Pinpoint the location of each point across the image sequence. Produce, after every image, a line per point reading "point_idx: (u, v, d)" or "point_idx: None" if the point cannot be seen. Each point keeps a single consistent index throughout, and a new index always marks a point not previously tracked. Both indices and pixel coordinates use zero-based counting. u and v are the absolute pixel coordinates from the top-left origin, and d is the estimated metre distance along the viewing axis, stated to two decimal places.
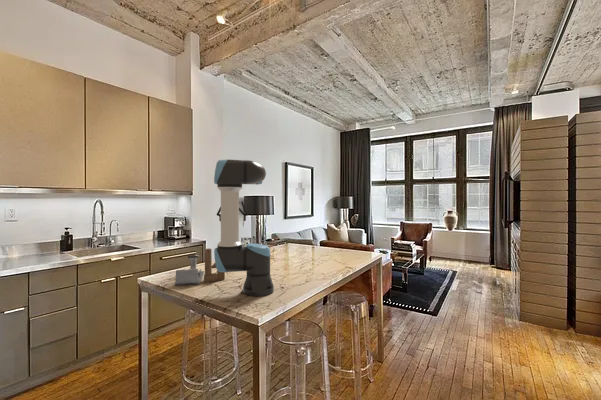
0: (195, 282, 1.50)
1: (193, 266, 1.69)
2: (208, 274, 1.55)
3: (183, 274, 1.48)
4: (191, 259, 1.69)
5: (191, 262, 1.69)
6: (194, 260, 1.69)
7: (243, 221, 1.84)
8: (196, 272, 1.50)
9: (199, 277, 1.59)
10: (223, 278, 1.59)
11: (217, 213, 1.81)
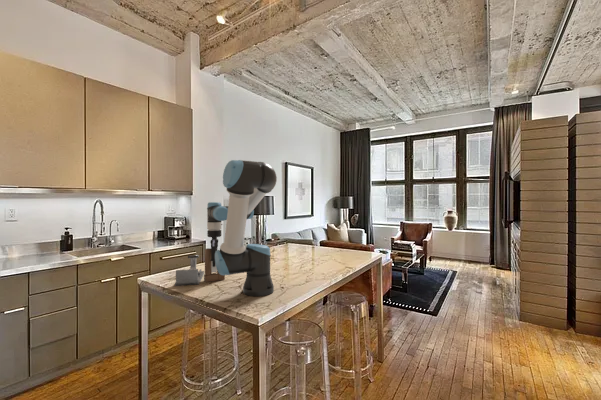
0: (195, 282, 1.50)
1: (193, 266, 1.69)
2: (208, 274, 1.55)
3: (183, 274, 1.48)
4: (191, 259, 1.69)
5: (191, 262, 1.69)
6: (194, 260, 1.69)
7: None
8: (196, 272, 1.50)
9: (199, 277, 1.59)
10: (223, 278, 1.59)
11: None
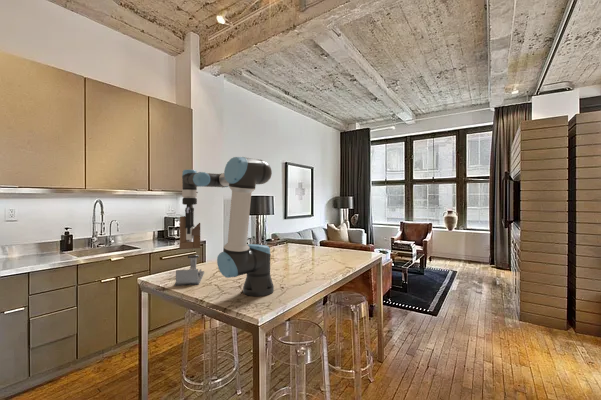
0: (195, 282, 1.50)
1: (193, 266, 1.69)
2: (183, 241, 1.54)
3: (183, 274, 1.48)
4: (191, 259, 1.69)
5: (191, 262, 1.69)
6: (194, 260, 1.69)
7: (186, 234, 1.55)
8: (196, 272, 1.50)
9: (199, 277, 1.59)
10: (199, 246, 1.58)
11: None
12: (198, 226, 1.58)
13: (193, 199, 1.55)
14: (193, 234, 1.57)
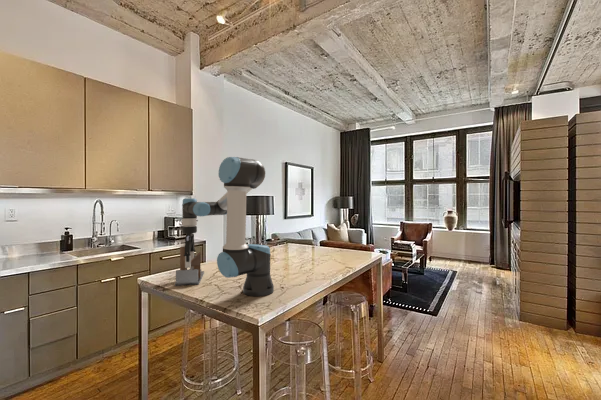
0: (195, 282, 1.50)
1: None
2: None
3: (183, 274, 1.48)
4: None
5: None
6: None
7: (185, 261, 1.52)
8: (196, 272, 1.50)
9: None
10: (199, 276, 1.58)
11: None
12: (198, 256, 1.57)
13: (193, 228, 1.55)
14: (193, 264, 1.56)
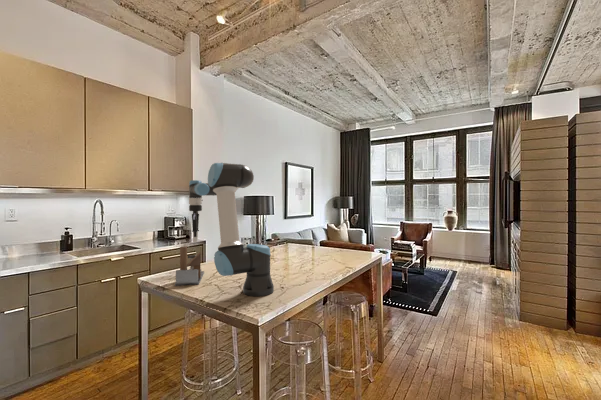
0: (195, 282, 1.50)
1: None
2: None
3: (183, 274, 1.48)
4: (191, 259, 1.69)
5: None
6: None
7: (193, 236, 1.78)
8: (196, 272, 1.50)
9: None
10: (199, 276, 1.58)
11: None
12: (198, 256, 1.57)
13: (198, 206, 1.76)
14: (193, 264, 1.56)
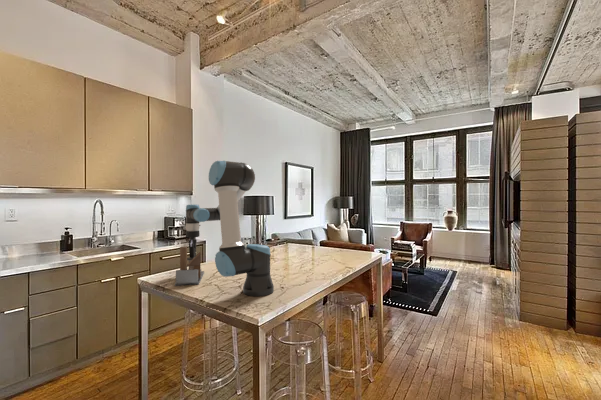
0: (195, 282, 1.50)
1: None
2: None
3: (183, 274, 1.48)
4: (189, 261, 1.62)
5: None
6: None
7: None
8: (196, 272, 1.50)
9: None
10: (199, 276, 1.58)
11: None
12: (198, 256, 1.57)
13: (196, 232, 1.66)
14: (193, 264, 1.56)
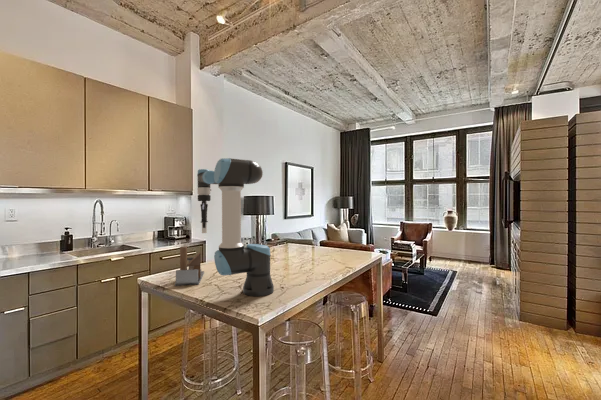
0: (195, 282, 1.50)
1: None
2: None
3: (183, 274, 1.48)
4: (189, 261, 1.62)
5: None
6: None
7: None
8: (196, 272, 1.50)
9: None
10: (199, 276, 1.58)
11: None
12: (198, 256, 1.57)
13: (207, 196, 1.71)
14: (193, 264, 1.56)
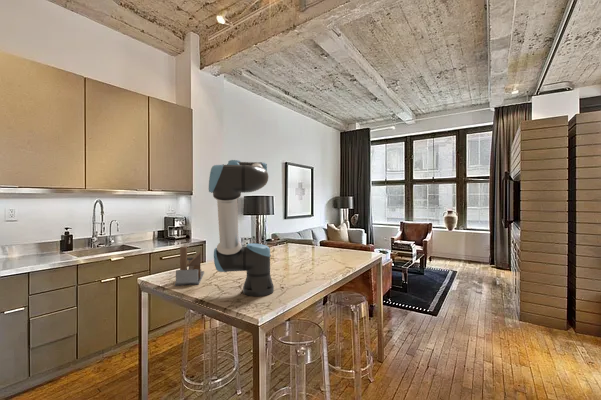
0: (195, 282, 1.50)
1: None
2: None
3: (183, 274, 1.48)
4: (189, 261, 1.62)
5: None
6: None
7: None
8: (196, 272, 1.50)
9: None
10: (199, 276, 1.58)
11: None
12: (198, 256, 1.57)
13: None
14: (193, 264, 1.56)
